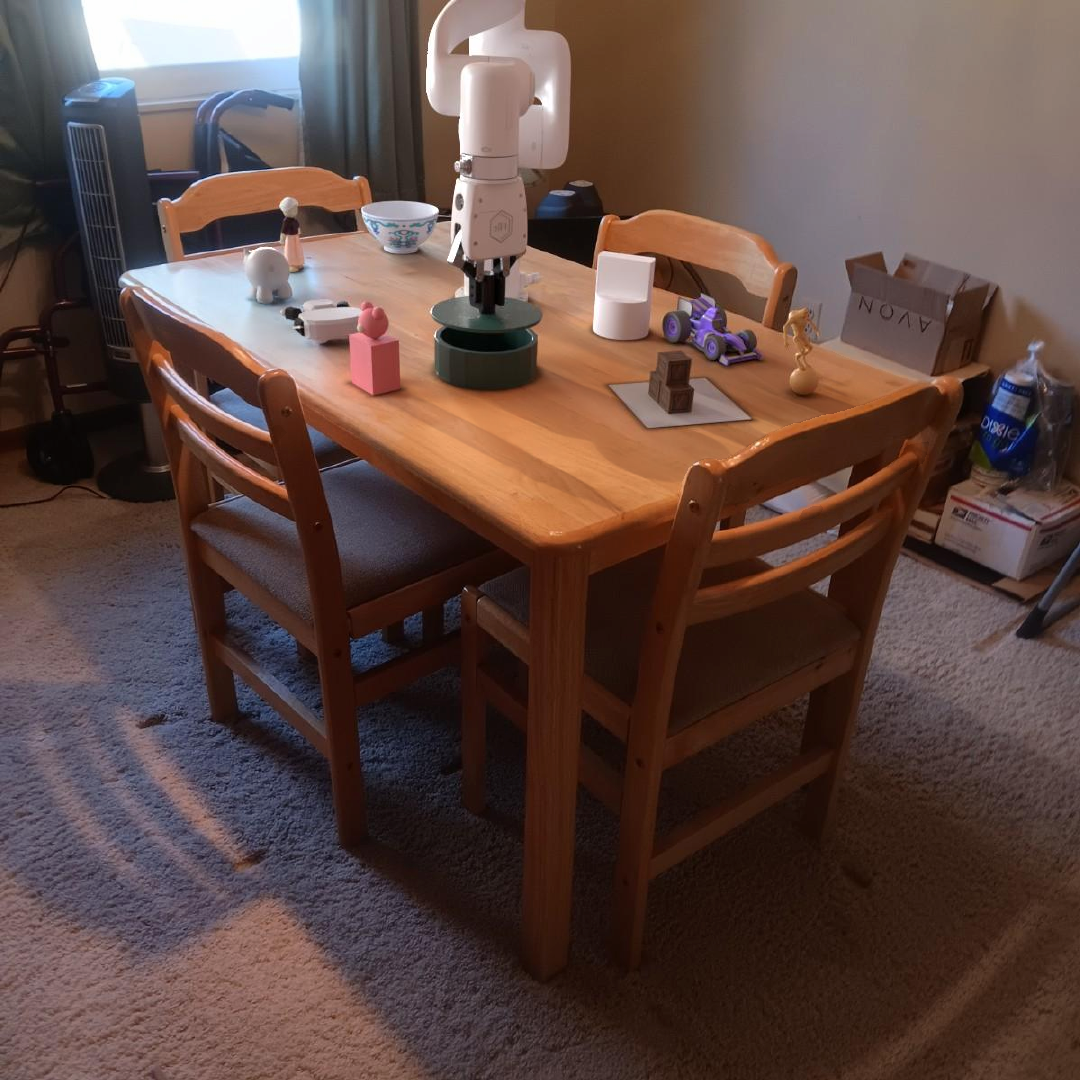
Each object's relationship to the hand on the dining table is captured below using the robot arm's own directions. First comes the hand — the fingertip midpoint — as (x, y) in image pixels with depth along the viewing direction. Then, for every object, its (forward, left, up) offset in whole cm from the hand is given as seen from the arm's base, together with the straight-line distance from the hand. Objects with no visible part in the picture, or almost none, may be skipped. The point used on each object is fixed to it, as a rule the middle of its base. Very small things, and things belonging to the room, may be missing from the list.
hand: (486, 304), depth 141 cm
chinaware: (-26, -62, -10) cm, 68 cm away
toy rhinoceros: (+10, -49, -10) cm, 51 cm away
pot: (0, 0, -10) cm, 10 cm away
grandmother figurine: (-2, -61, -10) cm, 62 cm away
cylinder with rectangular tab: (-29, -2, -10) cm, 31 cm away
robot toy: (+11, -26, -10) cm, 30 cm away
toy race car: (-36, +12, -10) cm, 39 cm away
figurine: (-32, +31, -10) cm, 46 cm away
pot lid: (0, 0, -2) cm, 2 cm away
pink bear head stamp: (+16, -4, -10) cm, 19 cm away
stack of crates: (-15, +24, -10) cm, 30 cm away
